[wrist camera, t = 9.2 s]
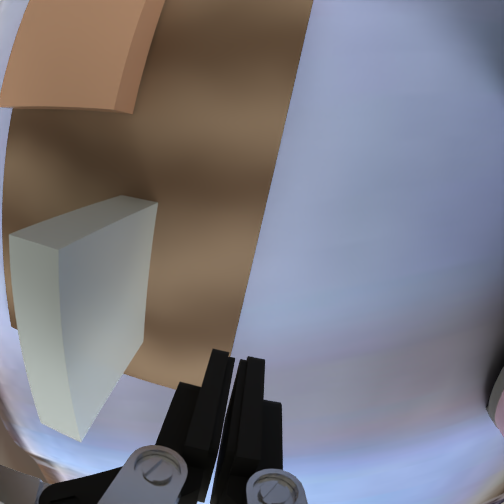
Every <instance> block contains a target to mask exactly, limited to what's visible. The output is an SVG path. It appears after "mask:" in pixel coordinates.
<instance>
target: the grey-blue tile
mask: <svg viewBox="0 0 504 504" xmlns="http://www.w3.org/2000/svg"><path fill="white" fill-rule="evenodd" d="M157 207H158V202H153V201H148V200H143V199H139V198H134V197H129V196H124V195H120V196H117V197H114V198H110V199H107V200H104V201H101V202H98V203H95V204H91V205H88V206H85V207H82V208H79V209H76V210H73V211H70V212H68V213H65V214H62V215H59V216H56V217H53V218H51V219H48V220H45V221H42V222H40V223H37V224H34V225H32V226H29V227H26V228H24V229H21V230H18V231H16V232H13V233H11V234H9V253H10V270H11V282H12V292H13V301H14V308H15V316H16V322H17V328H18V334H19V340H20V345H21V350H22V355H23V360H24V364H25V368H26V373H27V377H28V381H29V384H30V388H31V392H32V395H33V399H34V402H35V406H36V409H37V412H38V415H39V418H40V421H41V423H42V424H44V425H46V426H48V427H50V428H52V429H54V430H56V431H58V432H60V433H62V434H64V435H66V436H68V437H71V438H73V439H75V440H77V441H79V442H82V440H83V438H84V437H85V435H86V433H87V432H88V430H89V428H90V427H91V425H92V423H93V422H94V420H95V418H96V417H97V415H98V413H99V412H100V410H101V408H102V407H103V405H104V403H105V402H106V400H107V399H108V397H109V395H110V394H111V392H112V390H113V389H114V387H115V386H116V384H117V382H118V381H119V379H120V378H121V376H122V374H123V373H124V371H125V370H126V368H127V366H128V365H129V363H130V362H131V360H132V359H133V357H134V355H135V354H136V352H137V351H138V349H139V348H140V346H141V345H142V343H143V339H144V323H145V310H146V298H147V287H148V277H149V268H150V259H151V250H152V242H153V235H154V227H155V220H156V213H157Z"/></svg>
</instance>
